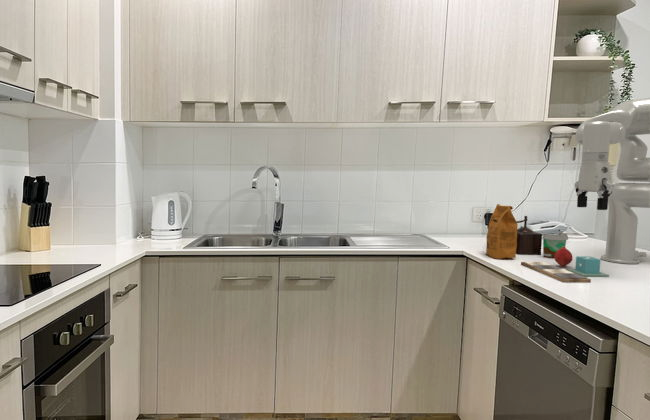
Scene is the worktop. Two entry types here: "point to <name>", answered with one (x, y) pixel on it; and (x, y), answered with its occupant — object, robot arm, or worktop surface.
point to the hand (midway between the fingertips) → (591, 208)
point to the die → (587, 265)
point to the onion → (563, 256)
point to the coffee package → (502, 233)
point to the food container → (553, 244)
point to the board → (555, 272)
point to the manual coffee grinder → (528, 240)
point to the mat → (588, 274)
